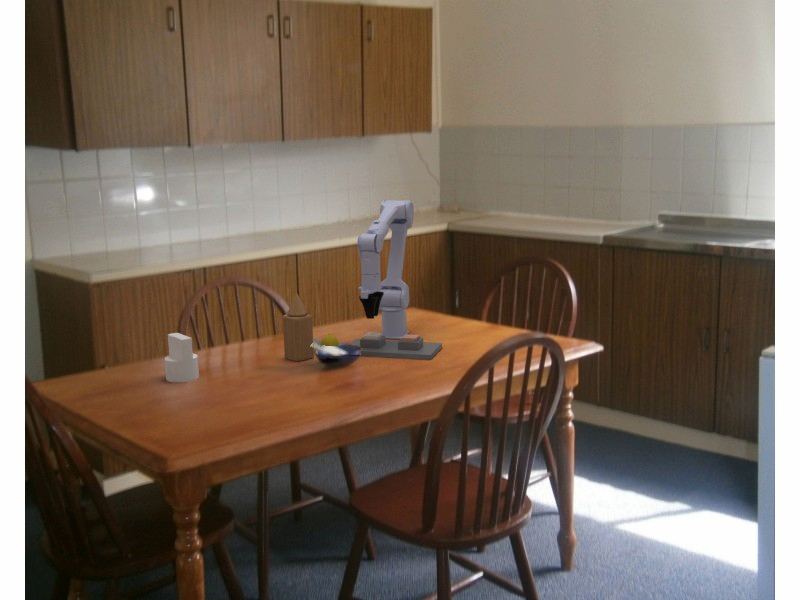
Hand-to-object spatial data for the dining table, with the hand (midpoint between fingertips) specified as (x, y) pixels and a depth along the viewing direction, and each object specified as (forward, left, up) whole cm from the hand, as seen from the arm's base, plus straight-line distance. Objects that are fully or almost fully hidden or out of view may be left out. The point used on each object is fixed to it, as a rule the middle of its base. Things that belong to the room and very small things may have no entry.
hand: (372, 317), depth 276 cm
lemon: (+13, -9, -11) cm, 19 cm away
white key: (0, 0, -7) cm, 7 cm away
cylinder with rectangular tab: (+39, -43, -11) cm, 59 cm away
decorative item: (+13, -19, -11) cm, 25 cm away
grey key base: (0, +6, -10) cm, 12 cm away
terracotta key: (0, +12, -7) cm, 14 cm away
